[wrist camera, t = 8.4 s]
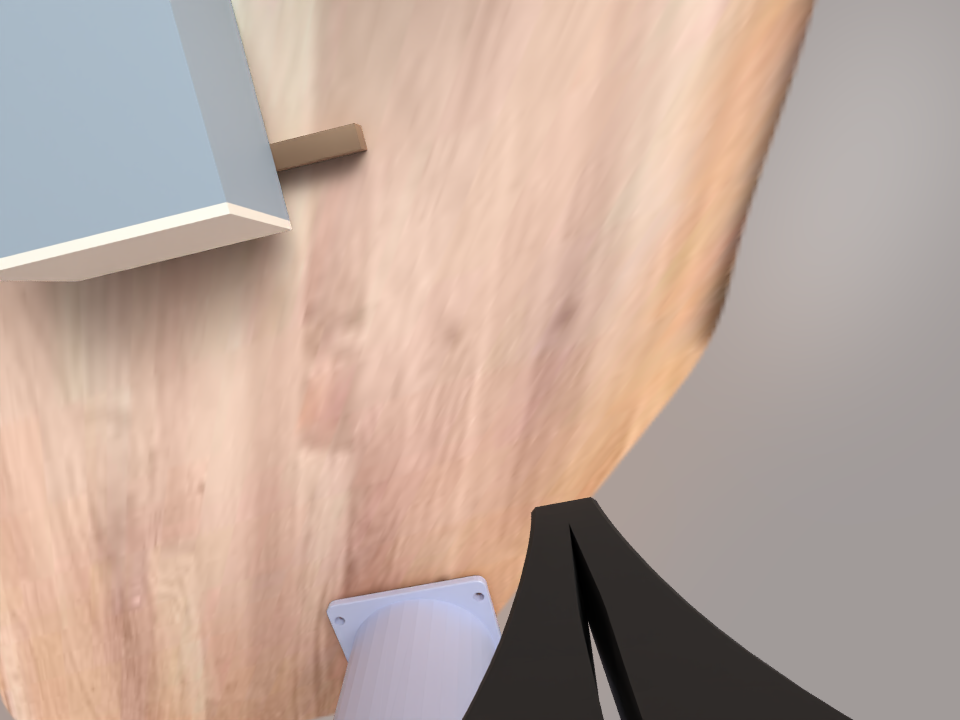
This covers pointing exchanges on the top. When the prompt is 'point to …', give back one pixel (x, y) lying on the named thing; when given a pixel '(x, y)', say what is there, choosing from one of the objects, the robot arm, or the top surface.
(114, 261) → the block
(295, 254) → the top surface
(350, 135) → the batten
